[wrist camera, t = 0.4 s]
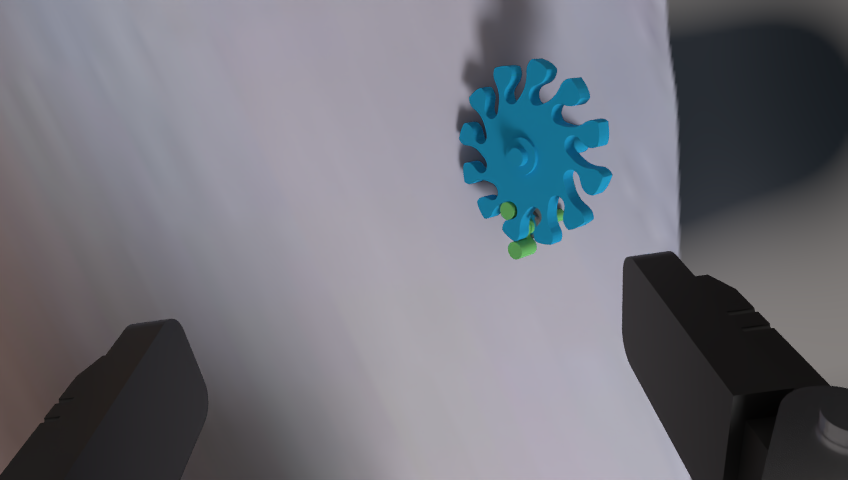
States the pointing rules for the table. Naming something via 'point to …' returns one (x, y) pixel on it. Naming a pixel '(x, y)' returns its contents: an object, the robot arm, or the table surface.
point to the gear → (534, 156)
